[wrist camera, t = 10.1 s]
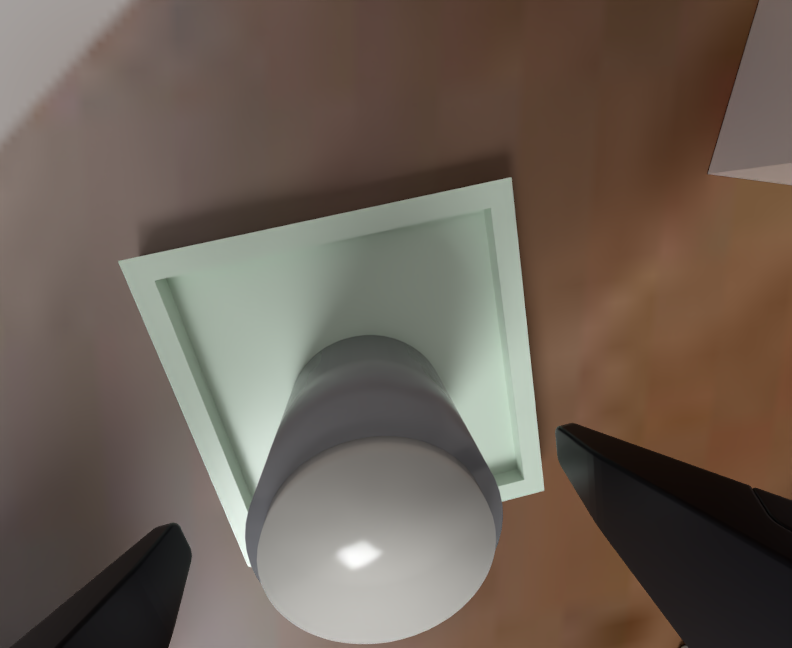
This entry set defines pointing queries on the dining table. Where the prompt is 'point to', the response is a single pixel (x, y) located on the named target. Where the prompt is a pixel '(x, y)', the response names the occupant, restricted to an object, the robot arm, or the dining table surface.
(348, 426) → the pot
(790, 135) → the soap dispenser
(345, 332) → the tray
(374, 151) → the dining table surface
